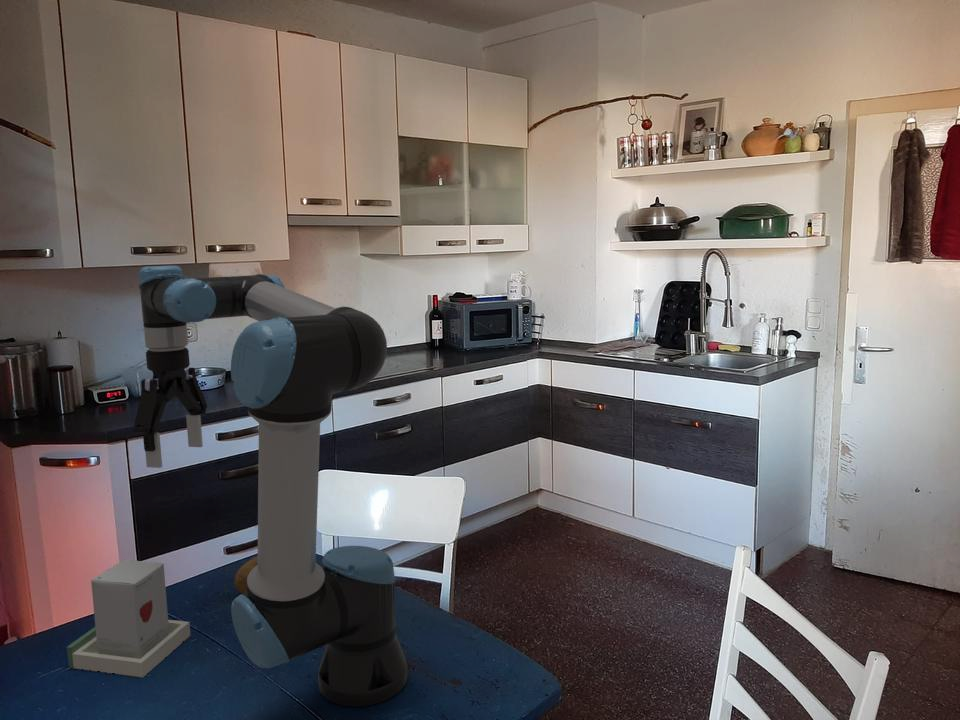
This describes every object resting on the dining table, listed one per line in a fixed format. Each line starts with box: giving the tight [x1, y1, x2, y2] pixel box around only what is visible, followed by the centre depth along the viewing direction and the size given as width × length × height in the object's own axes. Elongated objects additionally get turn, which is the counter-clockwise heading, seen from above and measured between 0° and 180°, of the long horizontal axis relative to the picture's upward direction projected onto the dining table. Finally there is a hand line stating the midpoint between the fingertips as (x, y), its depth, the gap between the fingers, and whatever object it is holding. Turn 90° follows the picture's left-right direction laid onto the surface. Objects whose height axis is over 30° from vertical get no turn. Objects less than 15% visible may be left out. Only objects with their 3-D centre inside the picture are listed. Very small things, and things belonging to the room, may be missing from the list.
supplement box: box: [90, 559, 169, 659], centre depth 136 cm, size 9×9×15 cm
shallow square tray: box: [66, 619, 191, 678], centre depth 137 cm, size 15×14×4 cm
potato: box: [233, 555, 258, 595], centre depth 159 cm, size 10×14×8 cm
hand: (176, 456), depth 144 cm, fingers open, 13 cm apart
